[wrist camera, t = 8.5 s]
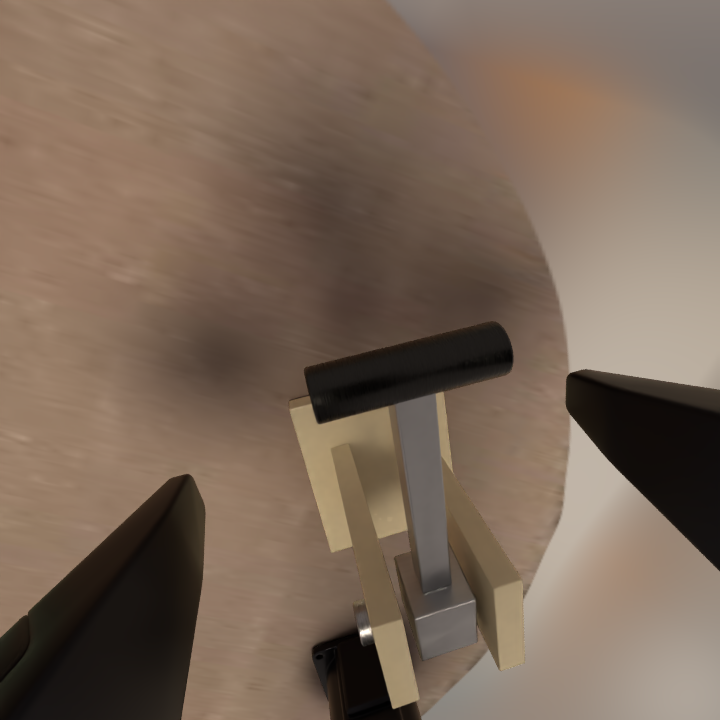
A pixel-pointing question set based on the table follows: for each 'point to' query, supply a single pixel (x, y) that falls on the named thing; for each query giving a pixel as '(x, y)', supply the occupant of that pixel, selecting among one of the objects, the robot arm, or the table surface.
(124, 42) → the table surface
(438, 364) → the lever
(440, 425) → the bracket
